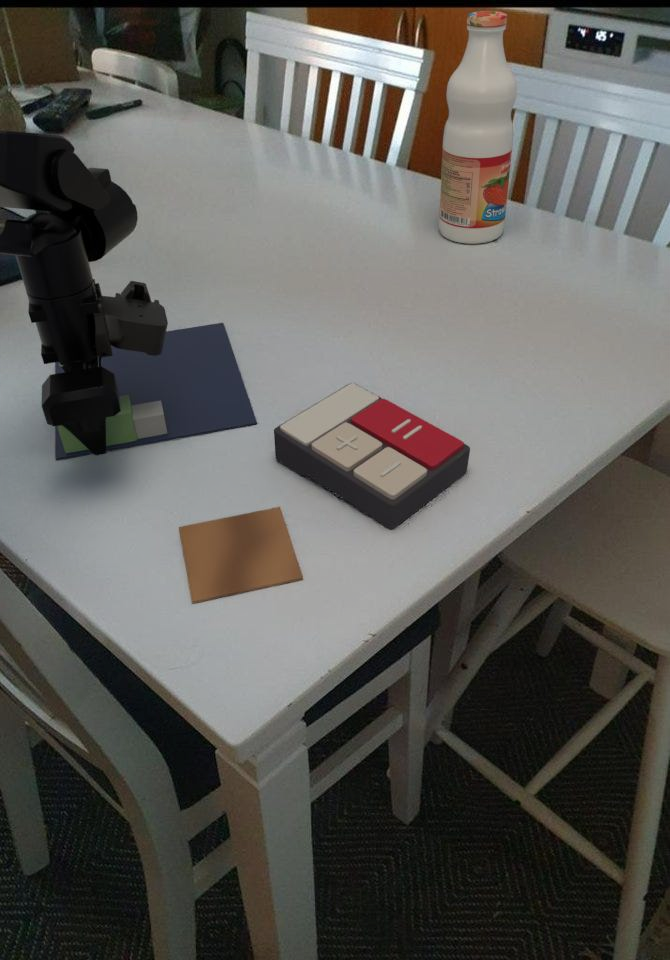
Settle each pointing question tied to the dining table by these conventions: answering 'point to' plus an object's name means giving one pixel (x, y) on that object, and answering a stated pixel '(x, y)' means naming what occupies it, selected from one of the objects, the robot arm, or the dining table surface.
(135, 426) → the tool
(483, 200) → the fruit juice
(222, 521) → the coaster
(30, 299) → the robot arm
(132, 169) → the dining table surface
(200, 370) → the napkin
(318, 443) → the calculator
